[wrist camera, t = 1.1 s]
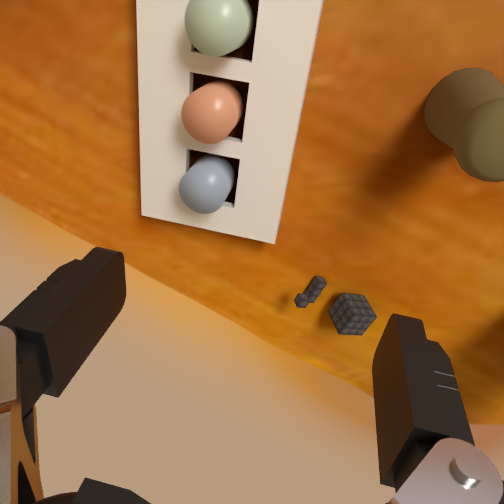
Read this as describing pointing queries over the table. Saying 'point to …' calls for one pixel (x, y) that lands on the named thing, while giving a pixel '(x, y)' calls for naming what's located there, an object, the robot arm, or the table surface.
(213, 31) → the pale green rounded piece
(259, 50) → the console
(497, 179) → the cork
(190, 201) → the slate button
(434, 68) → the table surface
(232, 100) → the terracotta button
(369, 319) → the building blocks
